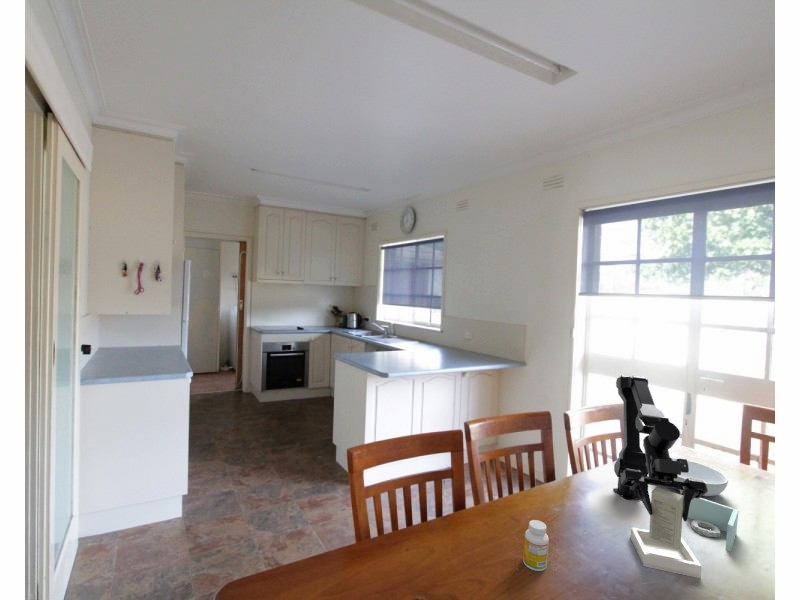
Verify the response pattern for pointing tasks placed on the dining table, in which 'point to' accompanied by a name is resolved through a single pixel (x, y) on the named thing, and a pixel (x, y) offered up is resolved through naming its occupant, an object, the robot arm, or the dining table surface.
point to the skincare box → (666, 517)
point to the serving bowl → (705, 477)
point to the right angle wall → (713, 519)
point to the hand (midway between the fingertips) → (668, 517)
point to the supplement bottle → (536, 546)
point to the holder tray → (665, 554)
